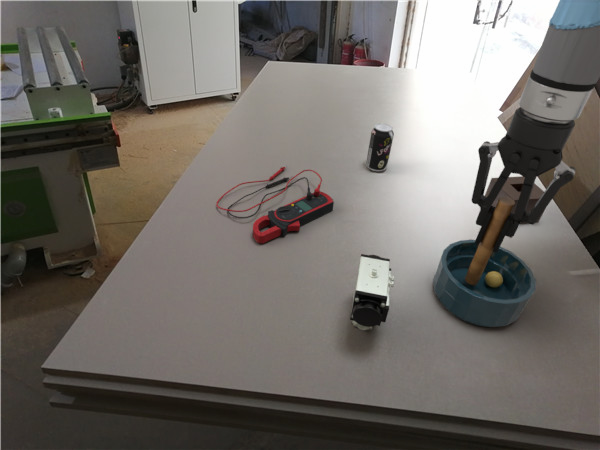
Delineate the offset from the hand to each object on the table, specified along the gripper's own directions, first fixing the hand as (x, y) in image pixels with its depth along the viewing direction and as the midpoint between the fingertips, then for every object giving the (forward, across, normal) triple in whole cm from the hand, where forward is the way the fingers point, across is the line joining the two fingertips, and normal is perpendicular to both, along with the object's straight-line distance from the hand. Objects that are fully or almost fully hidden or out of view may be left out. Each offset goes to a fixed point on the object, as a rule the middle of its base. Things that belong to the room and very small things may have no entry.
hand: (487, 243), depth 69 cm
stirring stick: (+9, 0, 0) cm, 9 cm away
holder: (+11, 0, +32) cm, 33 cm away
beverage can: (+11, -34, +29) cm, 47 cm away
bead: (+9, +3, +3) cm, 10 cm away
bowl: (+11, +2, -1) cm, 11 cm away
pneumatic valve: (+11, -12, -19) cm, 25 cm away
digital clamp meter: (+11, -45, -1) cm, 46 cm away
